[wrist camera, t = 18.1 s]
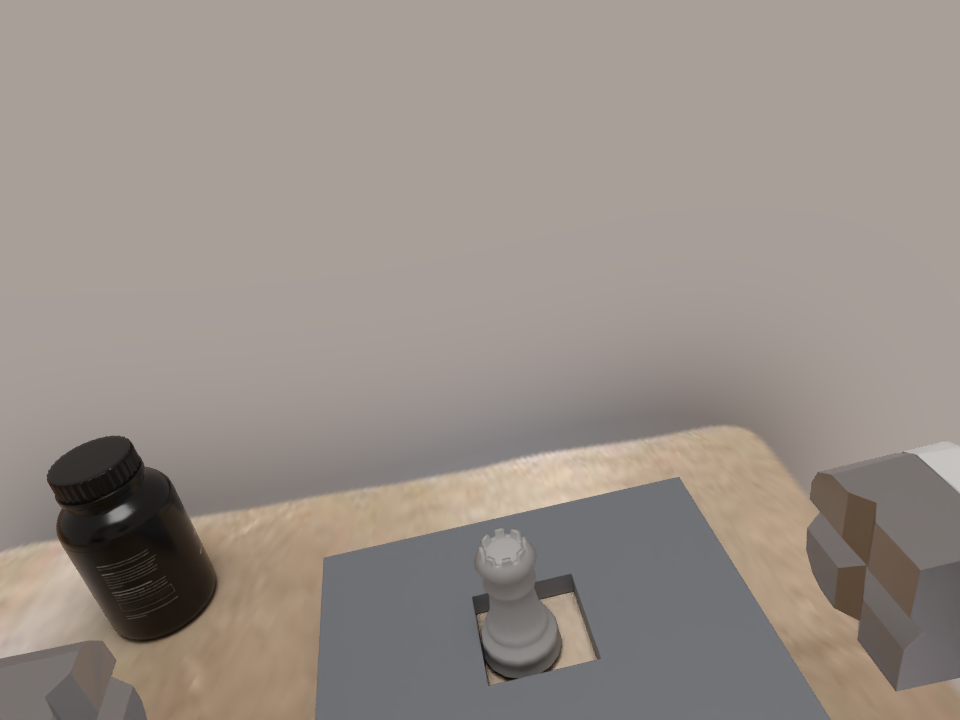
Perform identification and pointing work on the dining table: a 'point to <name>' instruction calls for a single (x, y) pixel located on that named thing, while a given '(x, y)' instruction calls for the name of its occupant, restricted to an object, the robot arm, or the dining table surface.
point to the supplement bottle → (130, 538)
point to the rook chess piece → (514, 608)
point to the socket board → (604, 607)
